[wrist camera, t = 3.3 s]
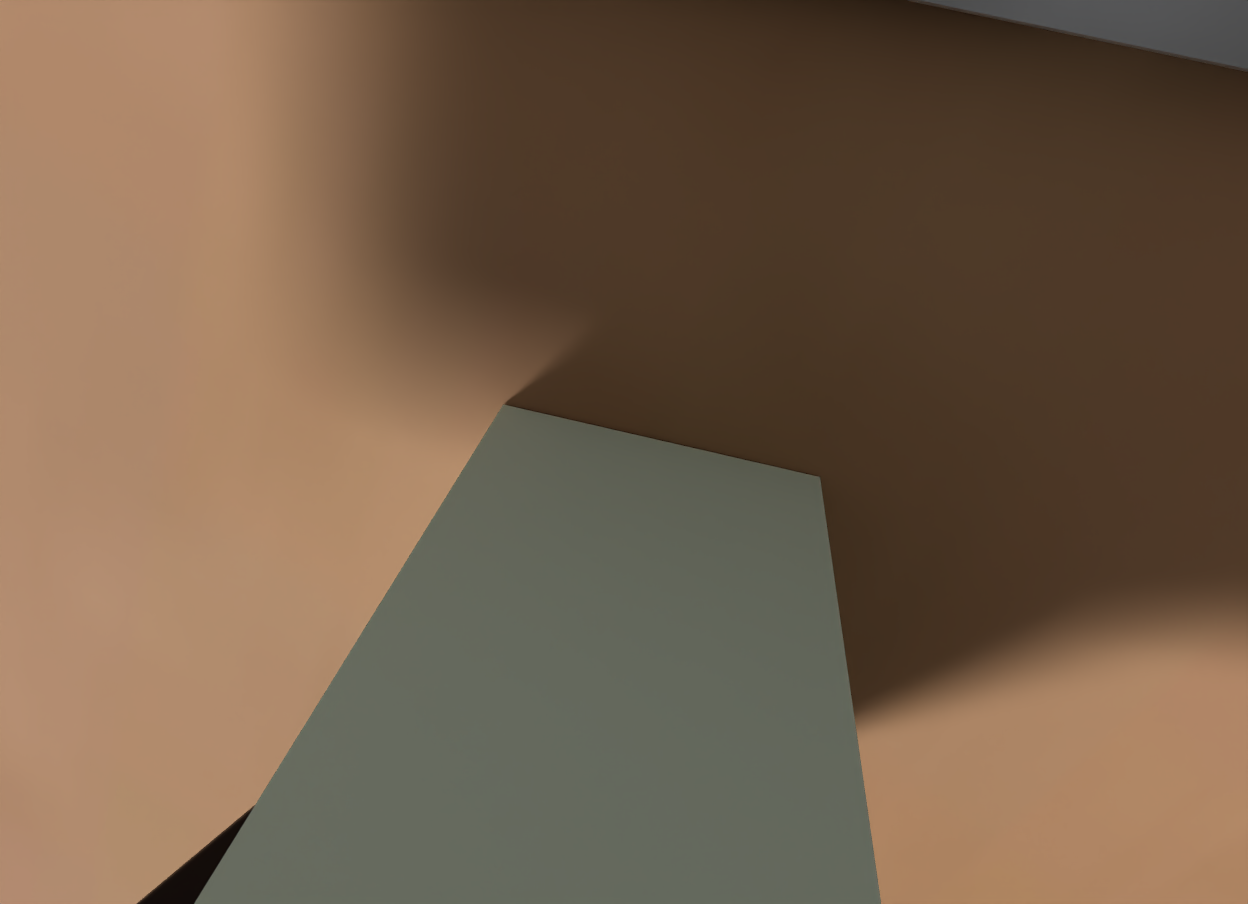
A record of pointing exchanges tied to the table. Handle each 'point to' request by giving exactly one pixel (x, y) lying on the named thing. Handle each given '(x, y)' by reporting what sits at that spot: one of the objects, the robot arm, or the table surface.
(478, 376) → the table surface
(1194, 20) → the socket tray
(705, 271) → the table surface
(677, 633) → the key block
